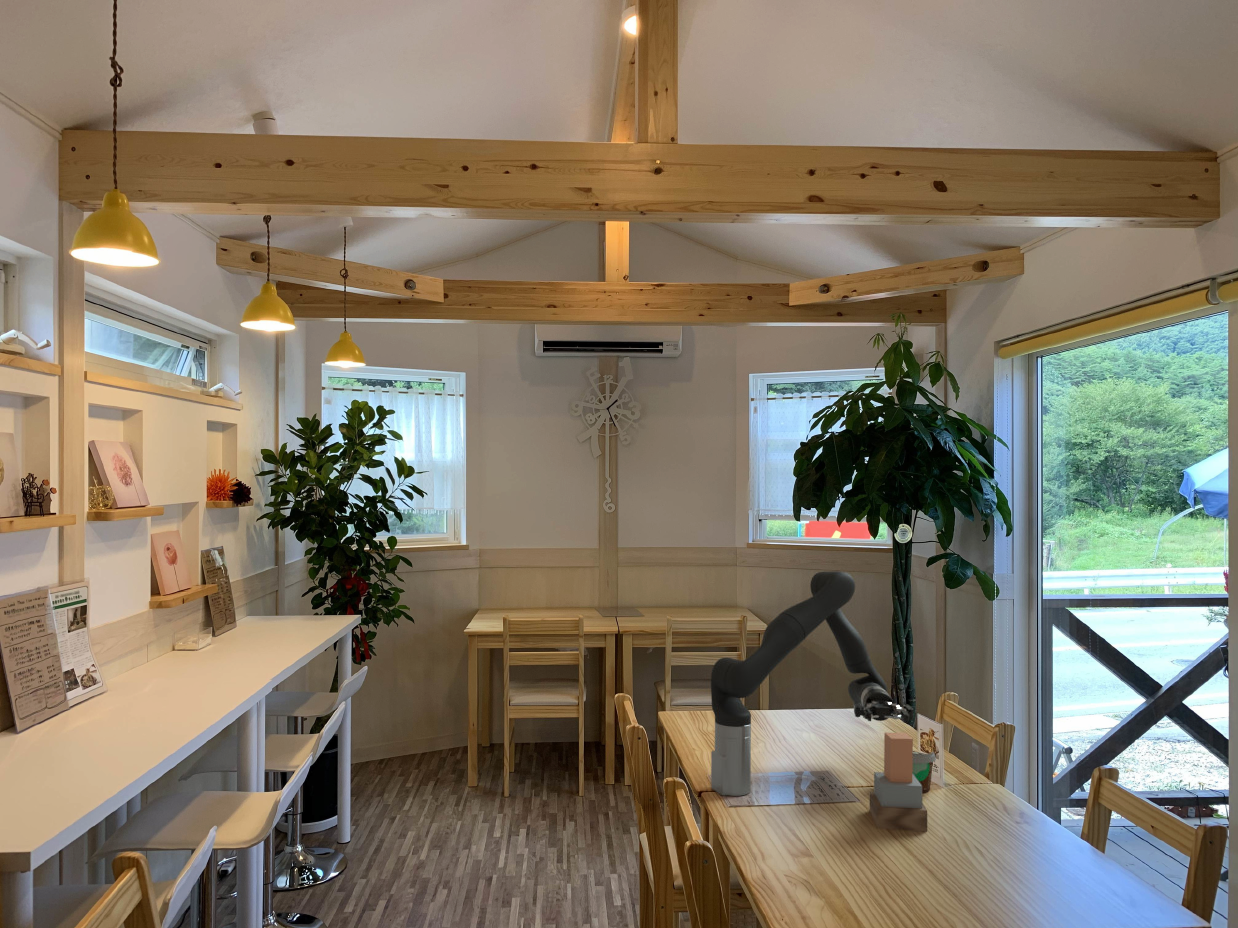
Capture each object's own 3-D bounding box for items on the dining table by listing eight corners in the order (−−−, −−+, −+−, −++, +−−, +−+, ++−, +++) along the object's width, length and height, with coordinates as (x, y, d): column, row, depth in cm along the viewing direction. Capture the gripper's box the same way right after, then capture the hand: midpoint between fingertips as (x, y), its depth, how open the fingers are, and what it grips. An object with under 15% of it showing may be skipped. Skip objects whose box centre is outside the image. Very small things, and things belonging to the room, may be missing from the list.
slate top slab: (881, 806, 197) (881, 784, 197) (874, 793, 206) (874, 771, 206) (922, 808, 196) (922, 785, 196) (912, 794, 205) (912, 773, 205)
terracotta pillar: (890, 782, 199) (891, 738, 199) (884, 774, 204) (884, 732, 204) (912, 782, 199) (912, 738, 199) (905, 775, 204) (905, 732, 204)
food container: (882, 789, 222) (882, 750, 222) (886, 782, 227) (886, 744, 228) (932, 798, 216) (932, 757, 217) (936, 790, 222) (935, 751, 222)
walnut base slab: (877, 829, 196) (877, 807, 196) (869, 812, 207) (869, 791, 207) (927, 832, 194) (927, 810, 195) (916, 815, 205) (916, 793, 206)
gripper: (849, 687, 230) (858, 701, 214) (904, 689, 228) (917, 703, 212) (849, 715, 230) (858, 731, 214) (904, 717, 228) (917, 734, 212)
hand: (887, 717), depth 213 cm, fingers open, 8 cm apart
